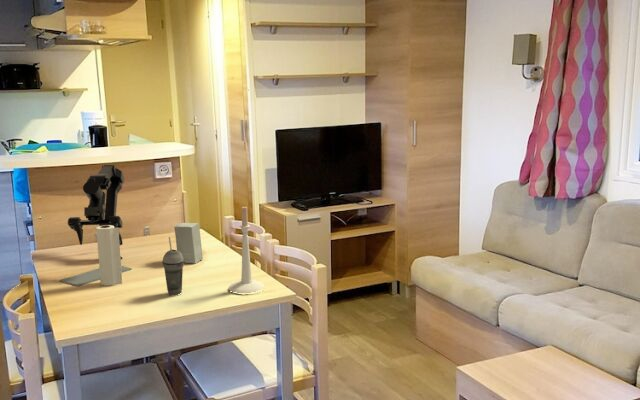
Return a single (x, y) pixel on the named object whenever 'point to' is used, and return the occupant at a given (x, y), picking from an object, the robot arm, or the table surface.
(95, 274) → the gray mat
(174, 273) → the beverage cup
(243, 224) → the candlestick
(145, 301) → the table surface
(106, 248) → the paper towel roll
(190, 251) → the skincare box
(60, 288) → the table surface
